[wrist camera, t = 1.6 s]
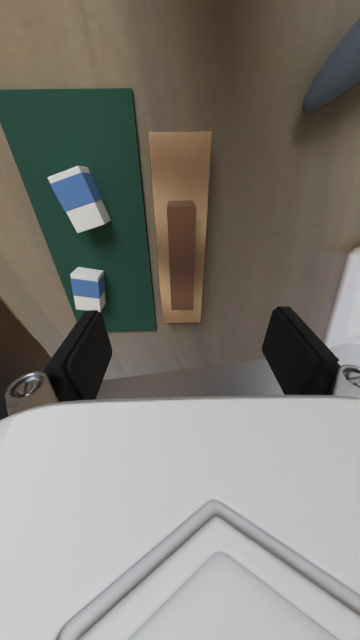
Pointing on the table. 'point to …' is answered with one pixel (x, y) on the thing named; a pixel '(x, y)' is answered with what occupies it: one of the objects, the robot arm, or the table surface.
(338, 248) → the table surface
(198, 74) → the table surface
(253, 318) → the table surface
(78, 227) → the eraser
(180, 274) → the scrub brush
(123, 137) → the desk mat
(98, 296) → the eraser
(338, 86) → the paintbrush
